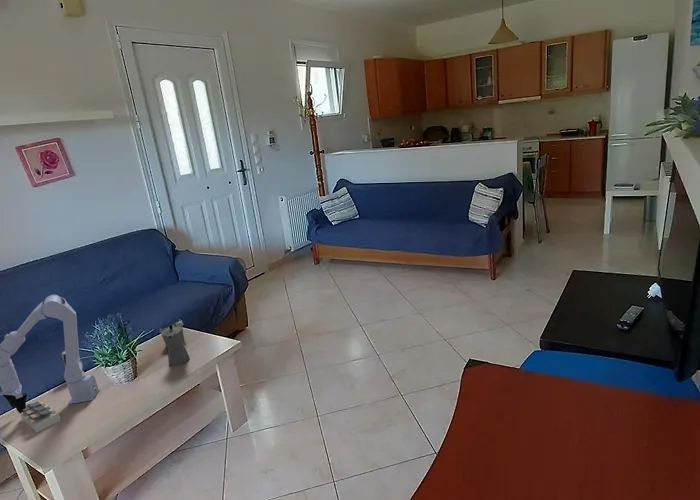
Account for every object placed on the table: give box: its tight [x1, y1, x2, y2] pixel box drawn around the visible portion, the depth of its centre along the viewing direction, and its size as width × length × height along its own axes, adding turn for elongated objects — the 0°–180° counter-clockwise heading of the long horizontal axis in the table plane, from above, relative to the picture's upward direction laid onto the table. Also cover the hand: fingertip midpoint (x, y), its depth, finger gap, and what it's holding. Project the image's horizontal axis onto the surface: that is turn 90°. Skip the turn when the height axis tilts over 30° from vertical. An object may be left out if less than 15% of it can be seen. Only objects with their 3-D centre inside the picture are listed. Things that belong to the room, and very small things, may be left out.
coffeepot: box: [160, 323, 191, 367], centre depth 205 cm, size 15×9×18 cm, turn 13°
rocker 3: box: [29, 409, 52, 420], centre depth 169 cm, size 6×4×2 cm, turn 143°
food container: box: [159, 318, 185, 340], centre depth 224 cm, size 12×6×10 cm, turn 147°
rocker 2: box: [25, 406, 46, 416], centre depth 172 cm, size 6×4×2 cm, turn 143°
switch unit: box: [19, 401, 61, 433], centre depth 173 cm, size 8×16×3 cm, turn 53°
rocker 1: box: [22, 401, 41, 413], centre depth 175 cm, size 6×4×2 cm, turn 143°
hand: (19, 408), depth 175 cm, fingers open, 7 cm apart
